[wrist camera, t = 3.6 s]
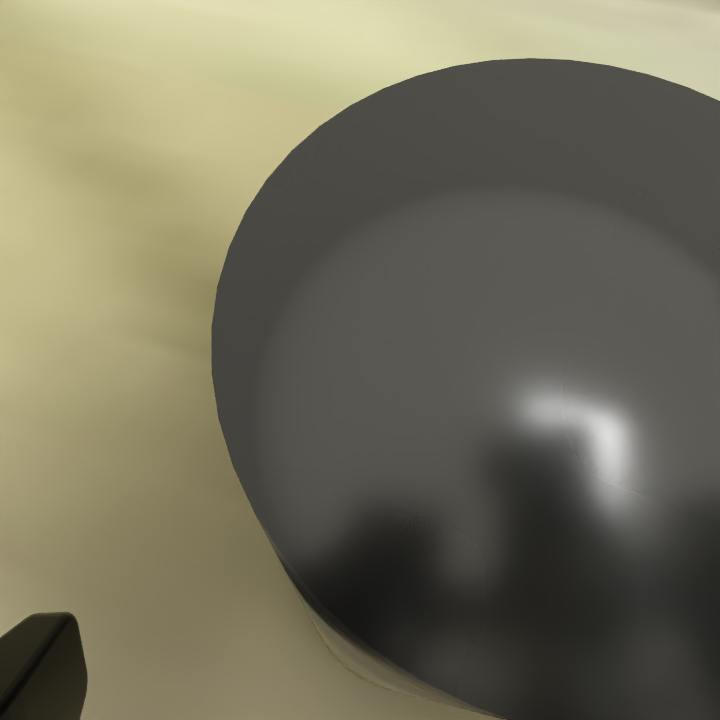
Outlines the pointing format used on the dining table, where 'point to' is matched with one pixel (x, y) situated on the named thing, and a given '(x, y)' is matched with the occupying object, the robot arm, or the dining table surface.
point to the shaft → (492, 388)
